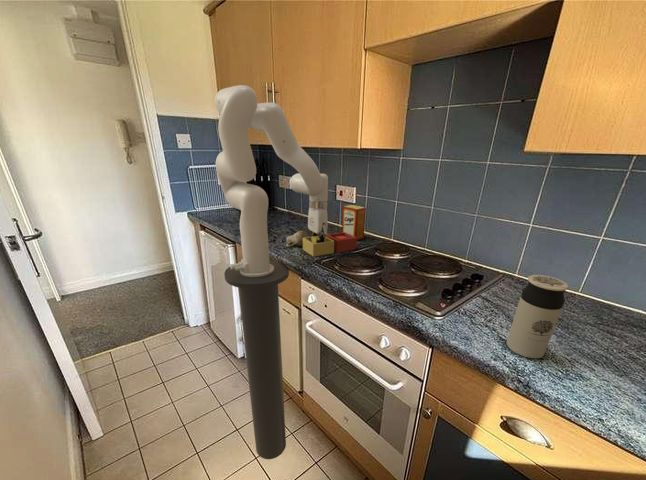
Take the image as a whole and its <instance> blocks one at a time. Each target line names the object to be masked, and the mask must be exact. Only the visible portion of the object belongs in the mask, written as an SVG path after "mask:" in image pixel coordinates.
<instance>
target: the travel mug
mask: <svg viewBox="0 0 646 480" xmlns="http://www.w3.org/2000/svg"><path fill="white" fill-rule="evenodd" d="M527 281H528V283H527V285H526V286H525V287H524V288H523V289H522V291H521V294H520V297H519V301H518V304H517V308H516V311H515V314H514V317H513V320H512V323H511V327H510V329H509V332H508V335H507V340H506V342H505V343H506V345H507V348H509V349H510V350H511V351H513V352H514V353H516V354H517V355H518V356H519V355H520V356H522V357H525V358H529V359H541V358H543V357H544V356H545V353H546V351H547V349H548V346H549V343H550V341H551V338H552V335H553V333H554V330H555V327H556V325H557V322H558V320H559V317H560V315H561V313H562V309H563V307H564V304H565V302H566V299H565V295H564V294H565V292H566V291H567V290H568V289H569V284H568V283H566V282H565V281H563V280H562V279H559V278H557V277H553V276H549V275H544V274H532V275H529V276H528V277H527Z"/></svg>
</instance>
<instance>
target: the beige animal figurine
mask: <svg viewBox="0 0 646 480" xmlns="http://www.w3.org/2000/svg"><path fill="white" fill-rule="evenodd" d="M305 237H309V236H308V233H307V231H305V230H299V231H296V233H294V234H292V235H288V236H287V237H286V245H285V246H286V247H287V248H291V247H294V246H299V247H303V238H305Z"/></svg>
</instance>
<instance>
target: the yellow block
mask: <svg viewBox="0 0 646 480" xmlns="http://www.w3.org/2000/svg"><path fill="white" fill-rule="evenodd" d="M310 237H311V242H312V243H314V244H315V243H317V240H318V236H310ZM324 242H325V240H324Z"/></svg>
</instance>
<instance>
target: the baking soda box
mask: <svg viewBox="0 0 646 480" xmlns="http://www.w3.org/2000/svg"><path fill="white" fill-rule="evenodd" d="M366 213H367V207H364V206H359V205H354V204H348V205H343V206H342V216H341V217H342V219H341V233H342V232H346V233H348V234H350V235H352V236H354V237H357V241H360V240H364V238H365V227H366Z"/></svg>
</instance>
